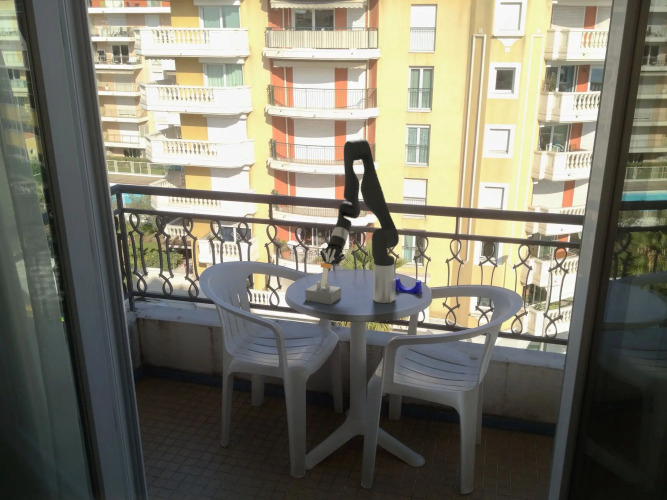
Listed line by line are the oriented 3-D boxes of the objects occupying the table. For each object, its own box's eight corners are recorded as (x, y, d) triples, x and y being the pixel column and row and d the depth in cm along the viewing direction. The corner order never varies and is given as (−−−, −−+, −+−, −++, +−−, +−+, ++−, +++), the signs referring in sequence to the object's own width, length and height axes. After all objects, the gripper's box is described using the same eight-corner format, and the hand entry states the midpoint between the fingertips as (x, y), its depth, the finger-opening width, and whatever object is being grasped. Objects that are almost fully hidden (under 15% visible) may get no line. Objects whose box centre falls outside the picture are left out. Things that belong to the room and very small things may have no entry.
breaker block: (341, 298, 272) (341, 281, 270) (331, 304, 263) (331, 287, 261) (316, 294, 277) (315, 277, 275) (305, 300, 269) (305, 283, 267)
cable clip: (421, 291, 281) (422, 279, 279) (418, 294, 277) (419, 282, 275) (397, 288, 286) (397, 276, 284) (394, 291, 282) (394, 279, 280)
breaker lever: (329, 287, 269) (332, 264, 269) (326, 287, 267) (329, 264, 267) (320, 285, 271) (323, 263, 271) (318, 285, 269) (321, 262, 269)
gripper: (323, 233, 278) (310, 265, 271) (348, 236, 272) (336, 269, 265) (328, 241, 284) (316, 273, 277) (353, 244, 278) (342, 277, 271)
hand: (326, 271), depth 271 cm, fingers closed
